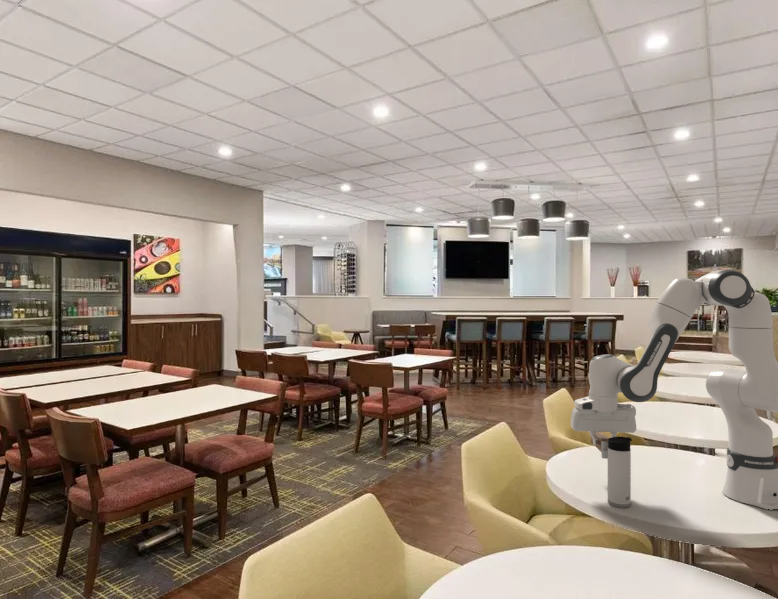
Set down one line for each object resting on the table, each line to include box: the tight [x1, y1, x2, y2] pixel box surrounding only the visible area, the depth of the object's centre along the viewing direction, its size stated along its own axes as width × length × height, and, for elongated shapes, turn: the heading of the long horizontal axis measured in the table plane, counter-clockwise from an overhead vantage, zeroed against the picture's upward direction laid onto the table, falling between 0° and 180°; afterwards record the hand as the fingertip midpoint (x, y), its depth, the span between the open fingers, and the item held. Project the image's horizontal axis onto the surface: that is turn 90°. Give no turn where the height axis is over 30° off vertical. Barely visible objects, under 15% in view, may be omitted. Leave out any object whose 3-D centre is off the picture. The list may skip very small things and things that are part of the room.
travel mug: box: [607, 436, 633, 509], centre depth 147 cm, size 6×7×20 cm
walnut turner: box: [590, 432, 610, 460], centre depth 163 cm, size 6×19×5 cm, turn 173°
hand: (603, 444), depth 163 cm, fingers closed on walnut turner, 3 cm apart
